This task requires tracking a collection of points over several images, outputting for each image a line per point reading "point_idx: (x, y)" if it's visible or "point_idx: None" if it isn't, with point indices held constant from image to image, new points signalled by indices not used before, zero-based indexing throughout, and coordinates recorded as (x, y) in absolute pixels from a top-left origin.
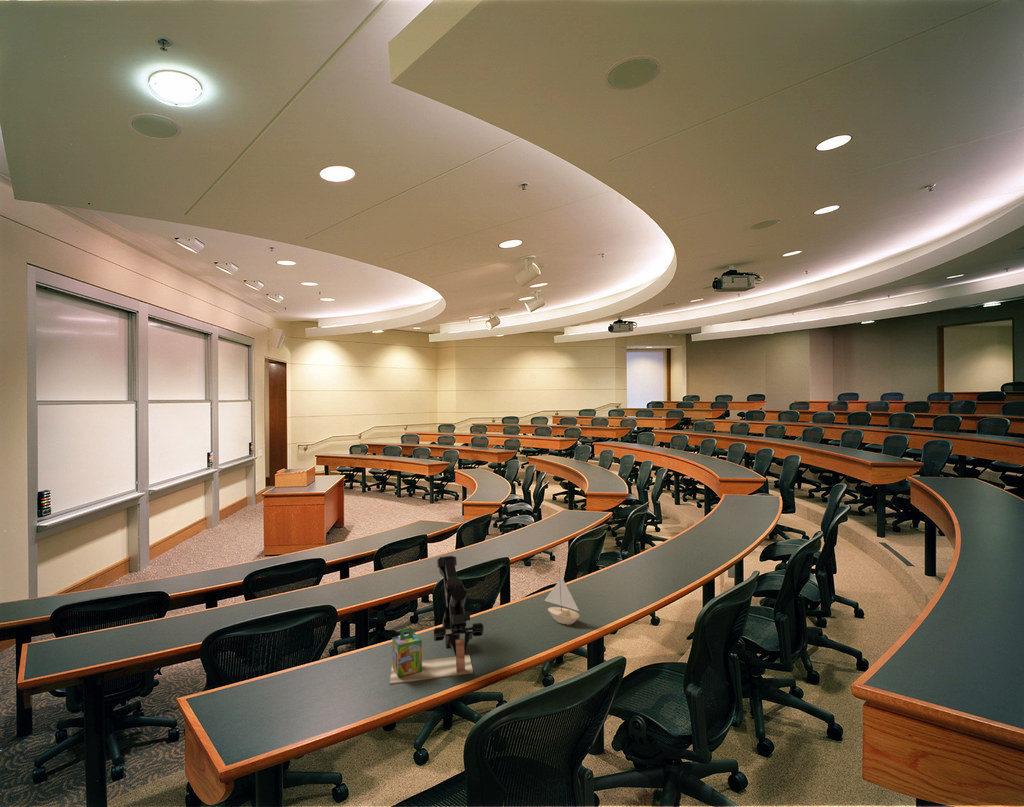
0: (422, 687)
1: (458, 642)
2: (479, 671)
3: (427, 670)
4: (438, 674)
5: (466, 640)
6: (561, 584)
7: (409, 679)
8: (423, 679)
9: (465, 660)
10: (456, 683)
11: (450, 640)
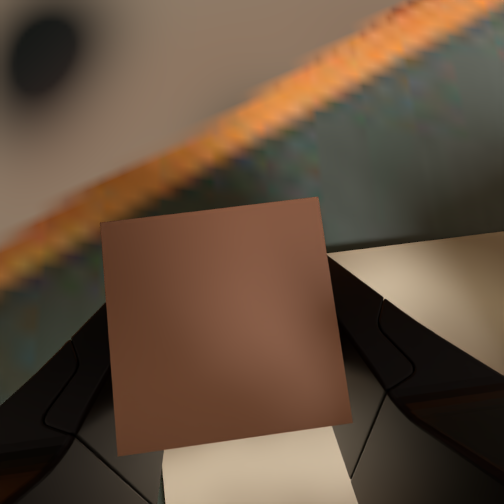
0: (479, 142)
1: (252, 226)
2: (102, 300)
3: (496, 346)
4: (402, 272)
5: (49, 397)
6: None
7: None
8: (495, 233)
9: (206, 478)
10: (263, 159)
11: (492, 379)
